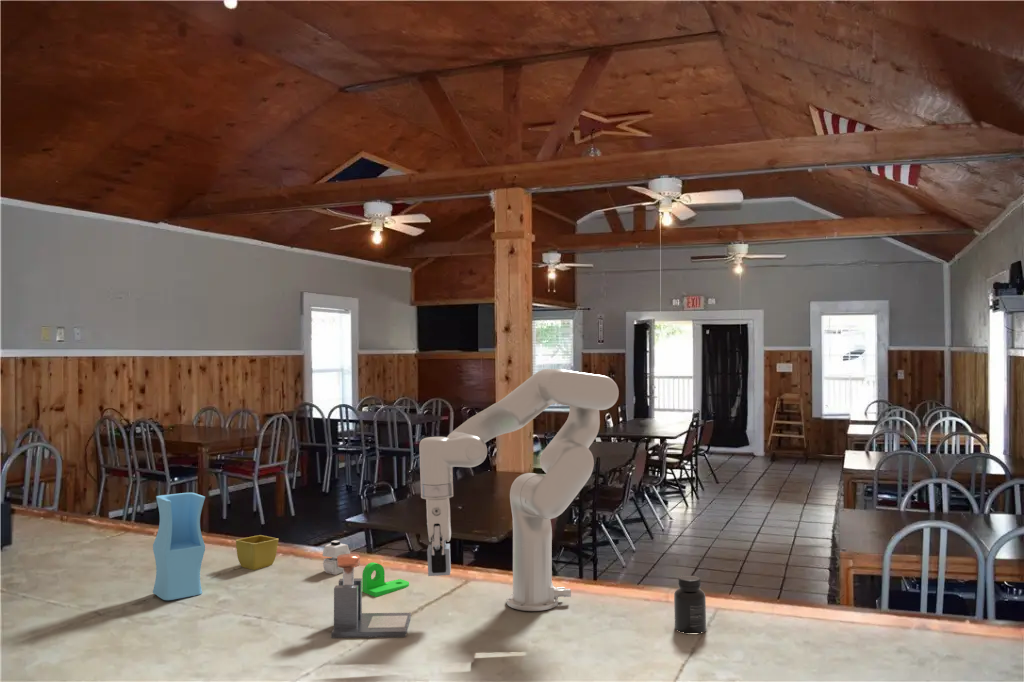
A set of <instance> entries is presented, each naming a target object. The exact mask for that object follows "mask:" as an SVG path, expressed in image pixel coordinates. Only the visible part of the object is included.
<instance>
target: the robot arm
mask: <svg viewBox="0 0 1024 682" xmlns="http://www.w3.org/2000/svg"><path fill="white" fill-rule="evenodd" d="M619 392H620V391H619V387H618V384H617V383H616V382H615V381H614V380H613V379H612V378H611V377H609V376H606V375H602V374H594V373H588V372H582V371H581V372H579V371H574V370H568V369H561V368H544V369H541V370H538V371H537V372H535V373H534V374H533V375H531V376H530V377H529V378H527V379H526V380H525V381H523V382H522V383H521V384H520V385H518V386H517V387H516V388H515V389H514V390H512V391H511V392H509V393H508V394H507V395H506V396H504V397H503V398H501V399H500V400H499V401H497V402H495V403H493V404H492V405H490V406H488V407H486V408H484V409H483V410H481V411H479V412H477V413H476V414H475V415H473V416H471V417H469V418H468V419H467V420H465V421H464V422H462V424H460V425H459V426H458V427H455V429H454V430H453V431H451V432H450V433H449V434H448V435H447V436H430V437H424V438H422V439H421V440H420V442H419V447H418V448H419V450H418V451H419V473H420V498H421V499H423V500H425V501H426V502H425V504H426V505H425V506H426V507H425V508H426V526H427V527H426V528H427V535H428V541H429V542H430V543H431V544H432V555H431V558H432V572H433V573H443V572H446V554H444V544H447V543H446V542H450V541H451V537H452V526H451V525H452V524H451V521H452V520H451V505H450V503H451V502H450V499H451V498H453V497H454V480H453V479H454V478H453V477H454V475H453V473H454V472H453V468H455V467H456V468H457V467H458V468H475V467H477V466H479V465H481V464H482V463H484V461H485V460H486V458H487V455H488V448H487V447H488V446H487V444H486V443H487V442H490V440H492V439H494V438H496V437H499V436H501V435H504V434H509V433H513V432H516V431H518V430H520V429H522V428H524V427H525V426H526V425H528V423H531V422H532V421H533V419H535V418H536V417H537V416H539V415H540V414H541V413H543V412H544V411H545V410H546V409H548V408H549V407H550V406H551V405H553V404H556V405H564V406H568V407H569V412H568V413H569V414H568V417H567V418H566V419H567V420H566V421H565V423H564V424H563V425H562V426H561V428H560V429H559V430H558V432H557V433H556V434H555V436H553V438H552V440H551V441H550V442H549V443H548V444H547V445H546V447H544V449H543V450H542V452H541V454H540V457H539V458H540V459H539V463H540V468H541V469H542V471H544V473H545V474H544V475H542V474H539V473H534V472H526V473H522V474H520V475H519V476H517V477H516V478H515V479H514V481H513V482H512V484H511V486H510V490H509V502H510V509H511V515H512V594H510V595H508V596H507V597H506V604H507V606H508V607H510V608H511V609H515V610H518V611H526V612H527V611H528V612H540V611H546V610H547V611H548V610H552V609H554V608H556V607H557V606H558V605H559V598H560V597H561V598H571V597H572V591H571V590H572V589H571V588H566V587H564V586H561V587H556V586H555V585H554V583H553V580H552V579H553V578H552V577H553V576H552V575H553V574H552V573H553V571H552V568H553V565H552V562H553V561H552V559H553V557H552V551H553V550H552V547H553V546H552V545H553V544H552V540H553V531H552V530H553V529H552V522H551V521H552V519H557V517H559V516H560V515H562V514H563V513H564V512H565V510H567V508H568V507H569V506H570V504H571V503H572V502H573V501H574V500H575V498H576V497H577V496H578V494H579V493H580V492H581V491H582V489H583V488H584V486H585V485H586V484H587V482H588V481H589V479H591V475H592V473H593V470H594V465H595V463H594V462H595V460H594V459H595V458H594V456H593V453H592V451H591V450H590V446H591V445H592V444H593V443H594V441H595V440H596V438H597V436H598V433H599V431H600V425H601V420H600V419H601V418H600V411H604V410H608V409H610V408H612V407H613V406H614V405H615V404H616V403H617V401H618V400H619V394H620V393H619ZM440 544H442V546H441V545H440Z"/></svg>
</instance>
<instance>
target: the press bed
mask: <svg viewBox="0 0 1024 682" xmlns="http://www.w3.org/2000/svg"><path fill="white" fill-rule="evenodd" d="M362 612H363V592H362V577H360V578H355V577H354V585H343V578H339V580H338V585H334V588H333V629H332V631H331V639H348V638H349V639H350V638H351V639H355V638H357V639H358V638H359V639H360V638H361V639H362V638H406V636H407V633H408V629H409V625H410V622H411V617H412V615H411V614H412V613H411V612H363V613H362Z"/></svg>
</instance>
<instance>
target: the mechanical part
mask: <svg viewBox="0 0 1024 682" xmlns="http://www.w3.org/2000/svg"><path fill="white" fill-rule="evenodd" d="M374 571H375V576H374V577H373V578H372V574H373V573H374ZM361 576H362V577H361V578H362V593H365V594H367V595H370V596H372V597H375V598H378V597H380V596H381V597H382V596H383V595H387V594H390V593H393V592H397V591H400V590H403V589H405V588H408V587H409V586H410V582H409V581H408V580H405V579H401V578H399V579H394V580H390V581H386V582H385V579H386V578H385V568H384V566H383V565H382V564H380V563H377V562H372V561H371V562H369V563H367V564H366V565H365V567H364V568H363V571H362V575H361Z"/></svg>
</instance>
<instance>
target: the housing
mask: <svg viewBox="0 0 1024 682" xmlns="http://www.w3.org/2000/svg"><path fill="white" fill-rule="evenodd" d="M440 545H441V546H442V544H440ZM426 551H427V552H426V556H427V576H428V577H435V576H436V577H439V576H441V577H442V576H450V575H451V572H452V570H451V569H452V564H451V563H452V561H451V543H446V544H444V554H446V572H443V573H433V572H432V558H431V555H432V543H431V544H430V543H429V544H428V546H427V550H426Z"/></svg>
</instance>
